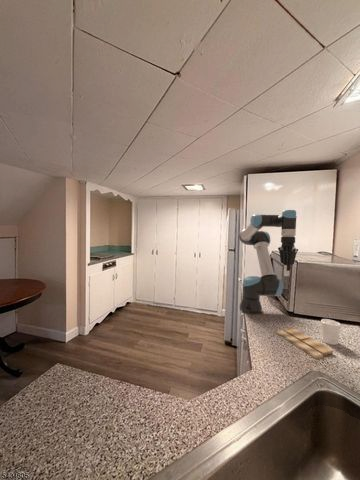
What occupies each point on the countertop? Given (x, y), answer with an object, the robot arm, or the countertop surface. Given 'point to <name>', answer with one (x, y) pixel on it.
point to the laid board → (299, 344)
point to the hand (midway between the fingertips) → (286, 275)
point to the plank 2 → (318, 346)
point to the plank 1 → (296, 334)
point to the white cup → (330, 331)
